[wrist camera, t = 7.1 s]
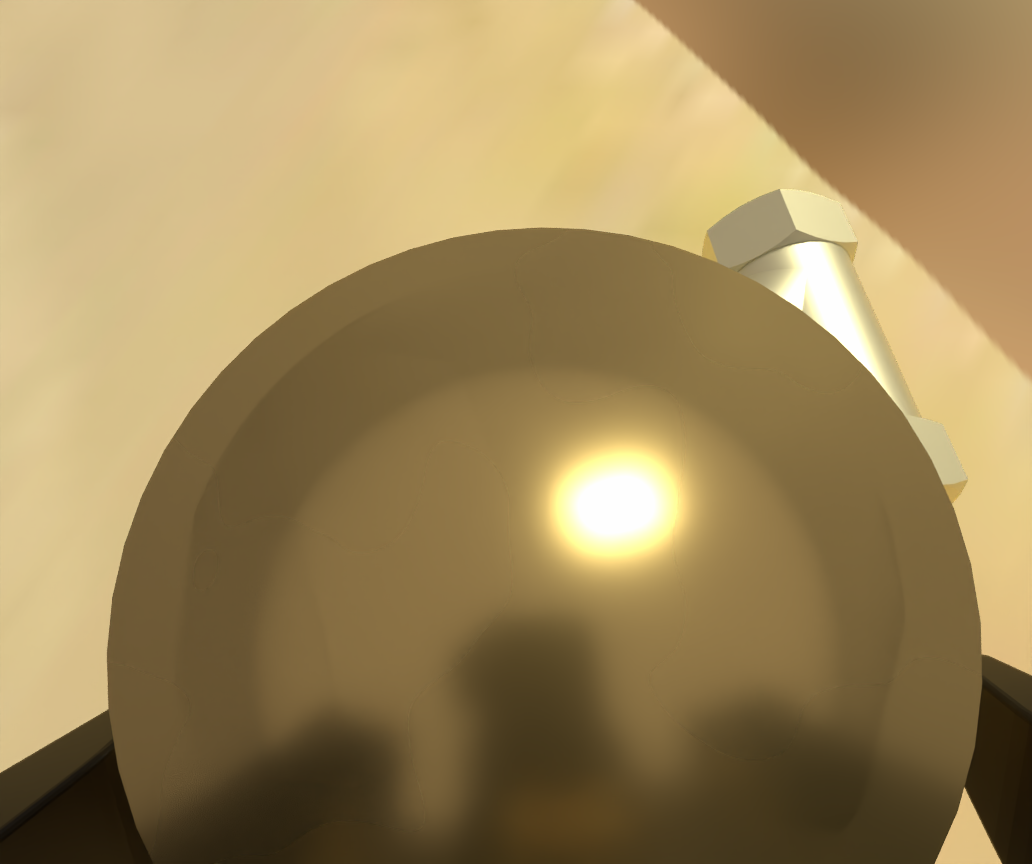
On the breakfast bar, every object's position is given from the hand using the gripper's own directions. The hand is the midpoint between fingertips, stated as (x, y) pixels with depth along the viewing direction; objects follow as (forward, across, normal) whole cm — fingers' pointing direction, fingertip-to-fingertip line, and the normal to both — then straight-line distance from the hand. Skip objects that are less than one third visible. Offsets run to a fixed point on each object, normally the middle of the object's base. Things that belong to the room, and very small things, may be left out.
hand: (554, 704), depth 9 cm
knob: (+6, 0, +6) cm, 8 cm away
